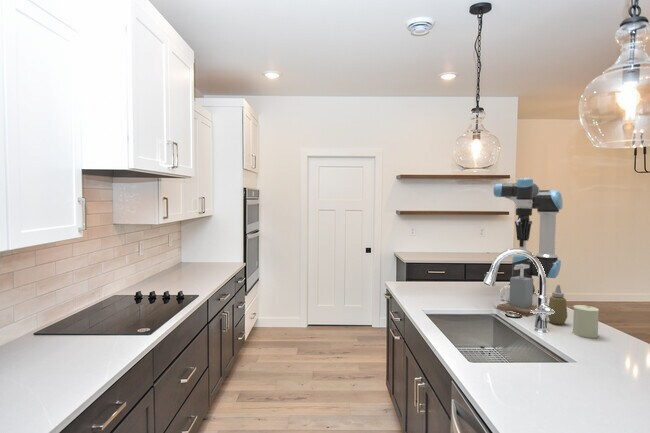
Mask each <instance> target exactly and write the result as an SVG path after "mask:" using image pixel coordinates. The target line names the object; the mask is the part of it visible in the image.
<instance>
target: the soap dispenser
mask: <svg viewBox="0 0 650 433" xmlns="http://www.w3.org/2000/svg"><path fill="white" fill-rule="evenodd" d="M509 284H510V301H508V302H509V306H513V307H517V308H521V309H527V308H531V307H532V305H534V304H533V302H534V300H533V298H534V297H533V295H534V293H533V284H534V278H533V277H532V278H527V277H524V278H523V279H522V278H520V276H516V277H512V276H511V277H510V279H509Z"/></svg>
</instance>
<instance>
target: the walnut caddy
mask: <svg viewBox="0 0 650 433" xmlns="http://www.w3.org/2000/svg"><path fill="white" fill-rule="evenodd" d="M537 306H538V305H536V304H533V305H532V307H531V308H527V309H521V308H517V307H513V306H509V301H508V302H505V303H501V304H497V305H496V309H497V310H499V311H502V312H506V311H513V312H516V313H519V314H521V315H520V316H522V315H523V316H522V317H531V316H534V315H535V314H533V313H530V310H535V309H536V308H537Z"/></svg>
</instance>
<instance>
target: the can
mask: <svg viewBox="0 0 650 433" xmlns="http://www.w3.org/2000/svg"><path fill="white" fill-rule="evenodd" d="M599 312H600V309H599V308H597V307H594V306H590V305H583V304H575V305H573V318H572V319H573V322H572V334H574V335H576V336H578V337H582V338H583V337H584V338H589V339H595V338H598V337H599V315H600V314H599Z"/></svg>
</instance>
